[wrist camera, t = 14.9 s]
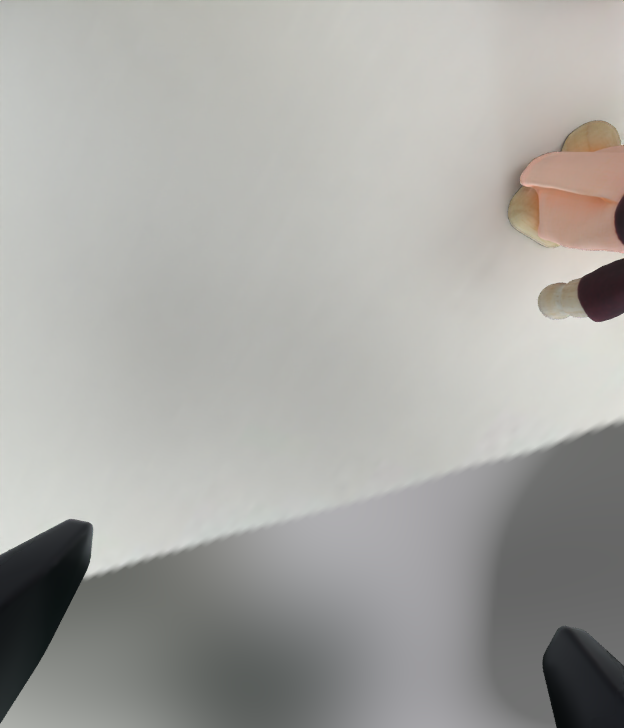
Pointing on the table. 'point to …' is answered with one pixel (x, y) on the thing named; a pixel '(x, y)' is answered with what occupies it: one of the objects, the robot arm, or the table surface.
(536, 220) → the grandmother figurine
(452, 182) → the table surface
